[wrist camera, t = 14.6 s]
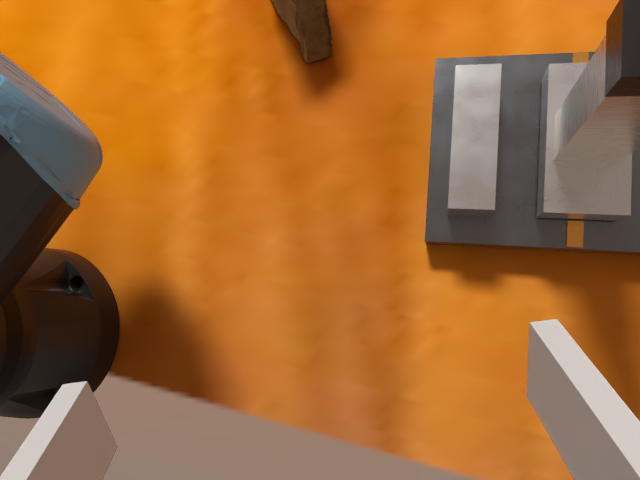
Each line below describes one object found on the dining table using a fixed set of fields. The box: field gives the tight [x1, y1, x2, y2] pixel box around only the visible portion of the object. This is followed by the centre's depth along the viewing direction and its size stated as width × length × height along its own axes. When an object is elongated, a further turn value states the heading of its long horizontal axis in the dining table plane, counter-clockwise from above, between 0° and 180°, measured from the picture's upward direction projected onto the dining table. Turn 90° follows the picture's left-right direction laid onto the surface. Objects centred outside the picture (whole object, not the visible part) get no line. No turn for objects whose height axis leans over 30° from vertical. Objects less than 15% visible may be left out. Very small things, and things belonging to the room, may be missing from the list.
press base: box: [425, 52, 640, 255], centre depth 33 cm, size 24×14×5 cm, turn 85°
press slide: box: [537, 0, 640, 221], centre depth 26 cm, size 5×10×15 cm, turn 175°
